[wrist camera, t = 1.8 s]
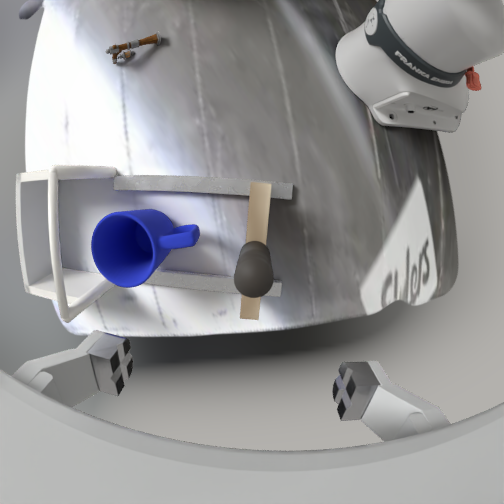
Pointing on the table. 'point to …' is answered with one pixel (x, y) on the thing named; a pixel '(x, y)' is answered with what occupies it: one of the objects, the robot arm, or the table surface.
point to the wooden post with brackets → (132, 46)
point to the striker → (255, 254)
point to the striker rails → (203, 186)
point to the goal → (53, 240)
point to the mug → (137, 244)
